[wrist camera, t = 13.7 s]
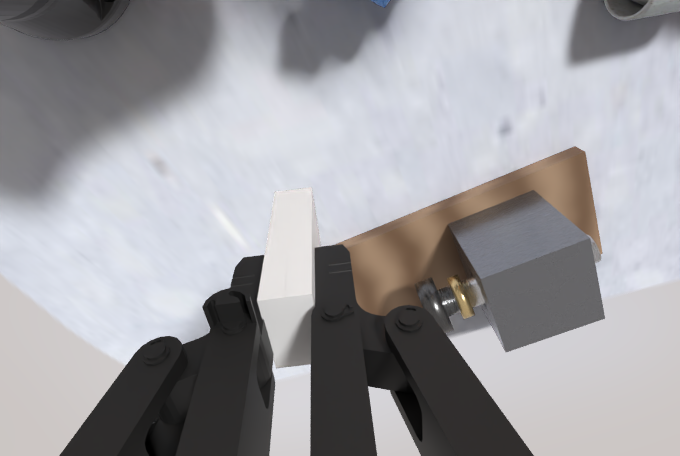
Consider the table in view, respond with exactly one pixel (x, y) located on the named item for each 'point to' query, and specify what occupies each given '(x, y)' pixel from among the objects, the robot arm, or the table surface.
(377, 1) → the grapes
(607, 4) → the ceramic mug
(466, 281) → the shaft
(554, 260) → the bearing block
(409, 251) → the base plate
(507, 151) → the table surface
